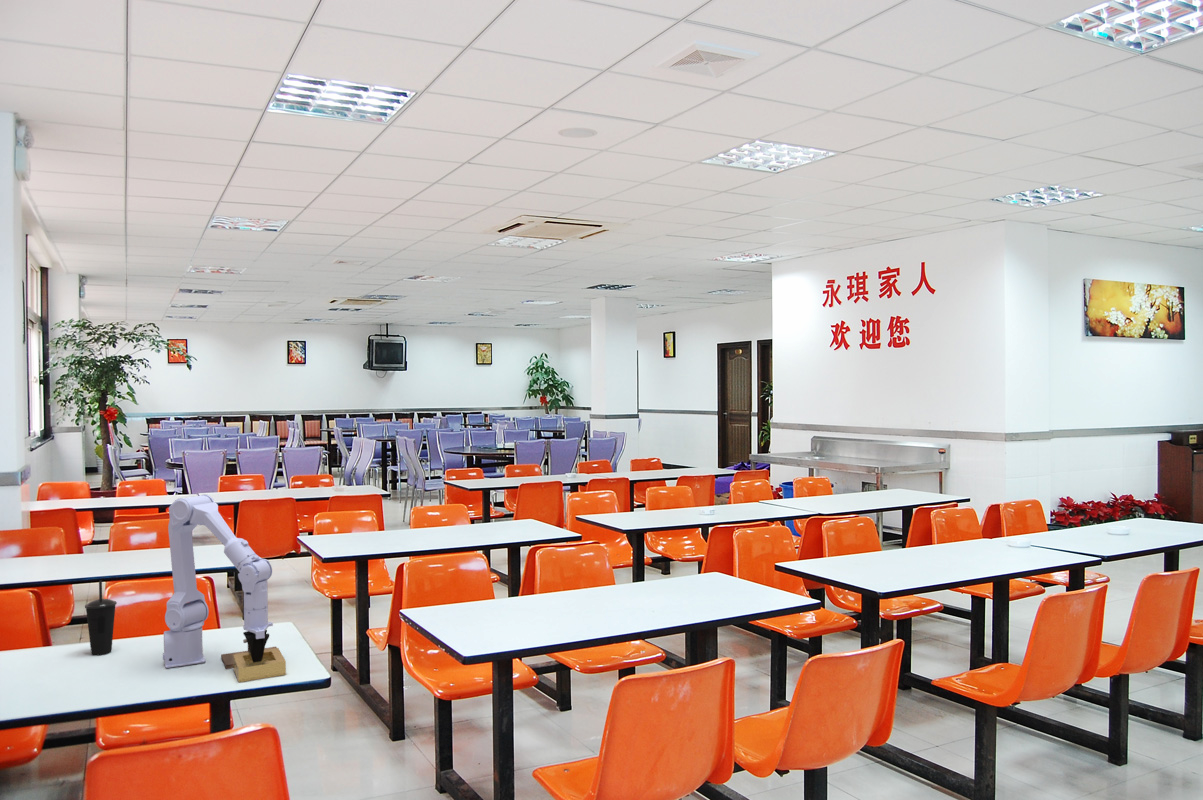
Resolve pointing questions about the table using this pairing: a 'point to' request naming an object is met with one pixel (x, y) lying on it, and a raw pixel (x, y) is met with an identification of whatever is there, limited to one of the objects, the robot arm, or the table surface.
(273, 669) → the tan slotted block
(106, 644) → the drinking cup
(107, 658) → the table surface
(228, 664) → the board
